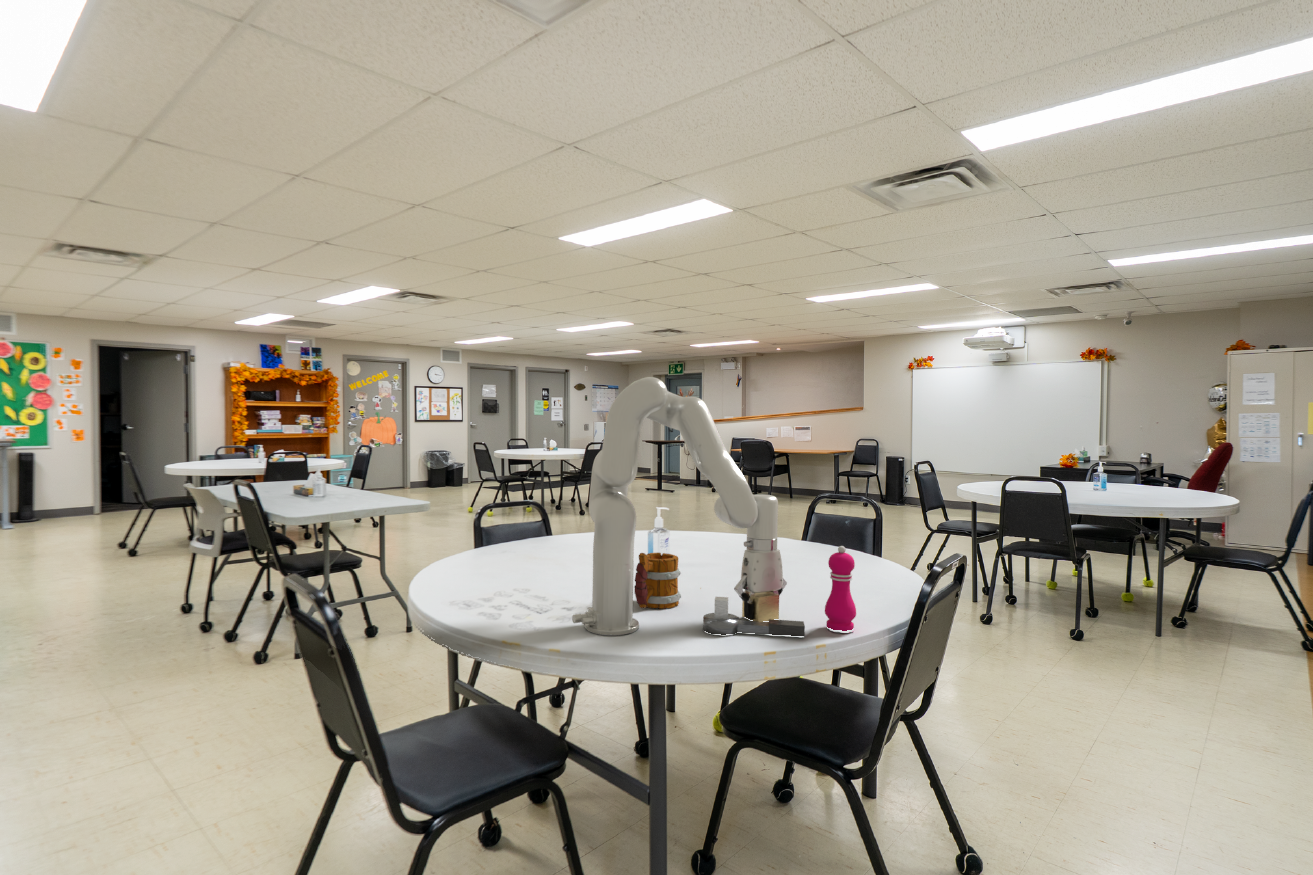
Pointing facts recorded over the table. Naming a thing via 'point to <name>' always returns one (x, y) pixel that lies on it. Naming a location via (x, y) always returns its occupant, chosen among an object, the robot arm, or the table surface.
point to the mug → (657, 581)
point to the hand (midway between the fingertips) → (760, 615)
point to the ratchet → (747, 623)
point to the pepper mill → (840, 592)
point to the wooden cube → (764, 606)
